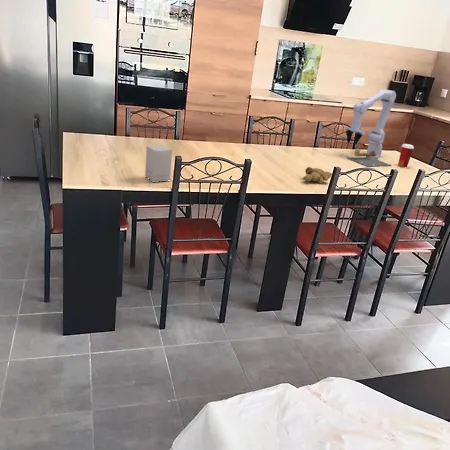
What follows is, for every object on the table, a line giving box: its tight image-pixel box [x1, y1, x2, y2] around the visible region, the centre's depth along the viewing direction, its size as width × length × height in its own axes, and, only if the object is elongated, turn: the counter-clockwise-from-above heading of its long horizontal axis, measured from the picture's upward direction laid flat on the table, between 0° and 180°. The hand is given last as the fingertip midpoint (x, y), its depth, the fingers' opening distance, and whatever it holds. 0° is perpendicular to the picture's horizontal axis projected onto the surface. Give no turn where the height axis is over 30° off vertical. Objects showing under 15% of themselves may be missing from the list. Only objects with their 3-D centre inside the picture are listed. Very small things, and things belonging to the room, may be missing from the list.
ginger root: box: [302, 166, 333, 184], centre depth 235 cm, size 16×16×8 cm
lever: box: [353, 147, 376, 157], centre depth 293 cm, size 18×4×4 cm, turn 117°
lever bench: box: [346, 156, 392, 168], centre depth 289 cm, size 21×19×3 cm
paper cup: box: [397, 143, 415, 168], centre depth 288 cm, size 8×8×14 cm
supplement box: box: [144, 145, 173, 183], centre depth 205 cm, size 9×9×15 cm
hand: (351, 143), depth 293 cm, fingers open, 5 cm apart
